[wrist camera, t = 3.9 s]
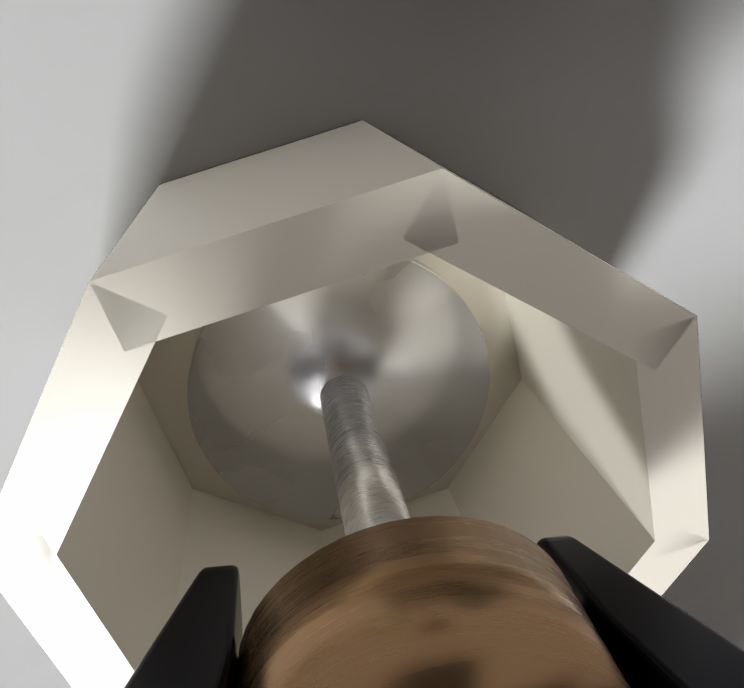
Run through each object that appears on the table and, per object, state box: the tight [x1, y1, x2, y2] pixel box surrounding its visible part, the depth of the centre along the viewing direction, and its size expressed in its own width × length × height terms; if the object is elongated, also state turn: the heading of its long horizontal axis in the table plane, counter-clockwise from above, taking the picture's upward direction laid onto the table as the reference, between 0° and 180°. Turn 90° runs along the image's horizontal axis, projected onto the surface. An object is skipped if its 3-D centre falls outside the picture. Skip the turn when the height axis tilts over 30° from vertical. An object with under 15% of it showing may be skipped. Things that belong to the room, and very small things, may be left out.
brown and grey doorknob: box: [187, 258, 631, 688], centre depth 9 cm, size 6×6×8 cm
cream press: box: [0, 120, 709, 688], centre depth 11 cm, size 11×9×5 cm
